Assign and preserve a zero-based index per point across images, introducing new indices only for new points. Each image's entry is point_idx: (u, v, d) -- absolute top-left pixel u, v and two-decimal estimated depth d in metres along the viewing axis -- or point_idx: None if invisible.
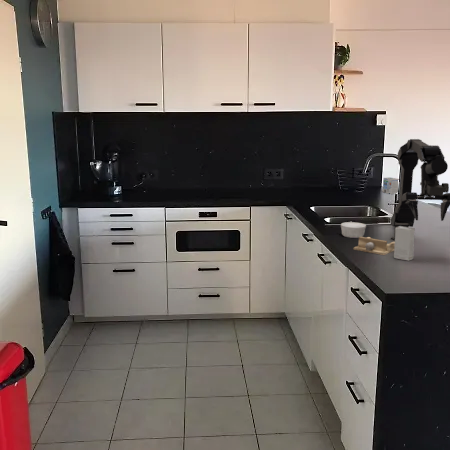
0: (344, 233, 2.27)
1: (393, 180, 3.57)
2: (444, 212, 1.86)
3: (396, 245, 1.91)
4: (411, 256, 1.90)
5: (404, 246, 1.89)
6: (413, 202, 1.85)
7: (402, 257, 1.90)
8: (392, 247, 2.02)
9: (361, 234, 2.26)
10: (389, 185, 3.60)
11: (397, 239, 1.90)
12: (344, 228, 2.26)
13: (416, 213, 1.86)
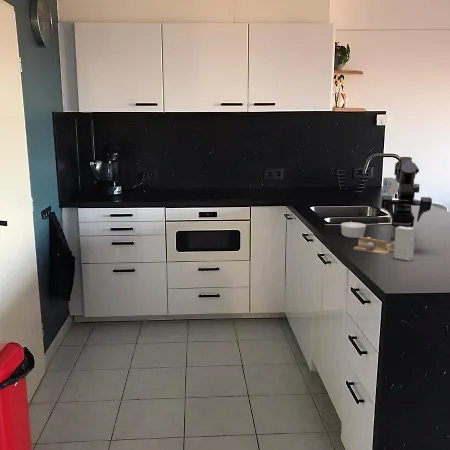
0: (344, 233, 2.27)
1: (393, 180, 3.57)
2: (419, 213, 1.96)
3: (396, 245, 1.91)
4: (411, 256, 1.90)
5: (404, 246, 1.89)
6: (388, 202, 2.00)
7: (402, 257, 1.90)
8: (392, 247, 2.02)
9: (361, 234, 2.26)
10: (389, 185, 3.60)
11: (397, 239, 1.90)
12: (344, 228, 2.26)
13: (392, 213, 1.99)
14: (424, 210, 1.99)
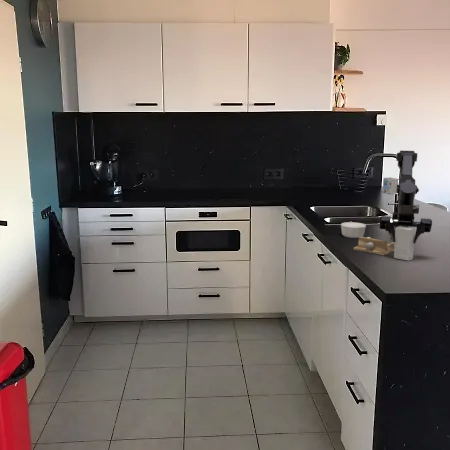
0: (344, 233, 2.27)
1: (393, 180, 3.57)
2: (416, 235, 1.89)
3: (396, 245, 1.91)
4: (411, 256, 1.90)
5: (404, 246, 1.89)
6: (389, 223, 1.92)
7: (402, 257, 1.90)
8: (392, 247, 2.02)
9: (361, 234, 2.26)
10: (389, 185, 3.60)
11: (397, 238, 1.90)
12: (344, 228, 2.26)
13: (393, 234, 1.91)
14: (421, 232, 1.92)
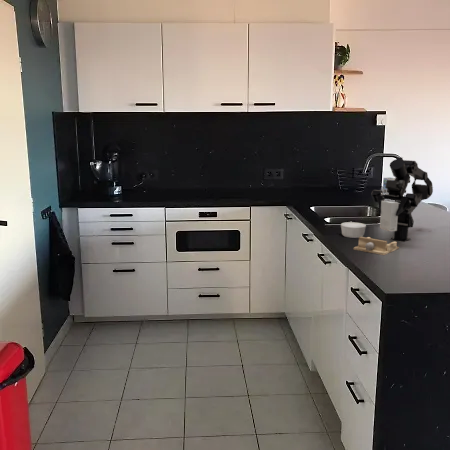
0: (344, 233, 2.27)
1: (393, 180, 3.57)
2: (399, 208, 2.06)
3: (381, 217, 2.10)
4: (393, 228, 2.08)
5: (386, 218, 2.08)
6: (378, 197, 2.12)
7: (385, 228, 2.09)
8: (392, 247, 2.02)
9: (361, 234, 2.26)
10: None
11: (382, 211, 2.10)
12: (344, 228, 2.26)
13: (379, 207, 2.11)
14: (408, 206, 2.08)
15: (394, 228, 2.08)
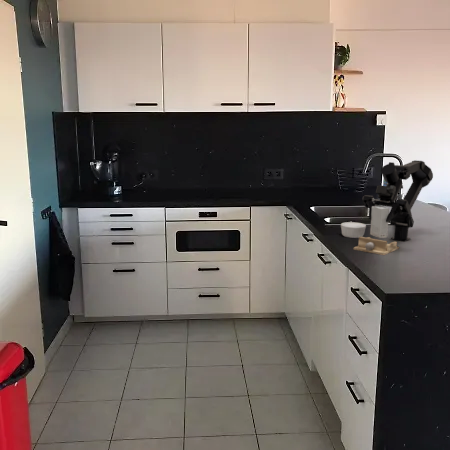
0: (344, 233, 2.27)
1: None
2: (389, 214, 2.01)
3: (372, 223, 2.06)
4: (384, 234, 2.03)
5: (376, 224, 2.03)
6: (369, 202, 2.08)
7: (375, 234, 2.04)
8: (392, 247, 2.02)
9: (361, 234, 2.26)
10: None
11: (372, 216, 2.05)
12: (344, 228, 2.26)
13: (370, 212, 2.06)
14: (399, 212, 2.03)
15: (384, 234, 2.03)
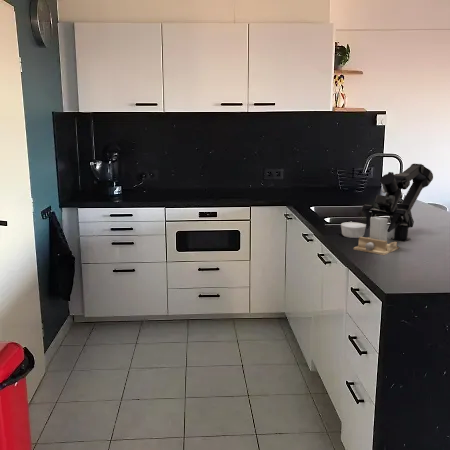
0: (344, 233, 2.27)
1: None
2: (391, 224, 2.01)
3: (370, 233, 2.07)
4: None
5: (375, 235, 2.04)
6: (366, 211, 2.09)
7: None
8: (392, 247, 2.02)
9: (361, 234, 2.26)
10: None
11: (371, 227, 2.06)
12: (344, 228, 2.26)
13: (367, 221, 2.08)
14: (400, 222, 2.03)
15: None
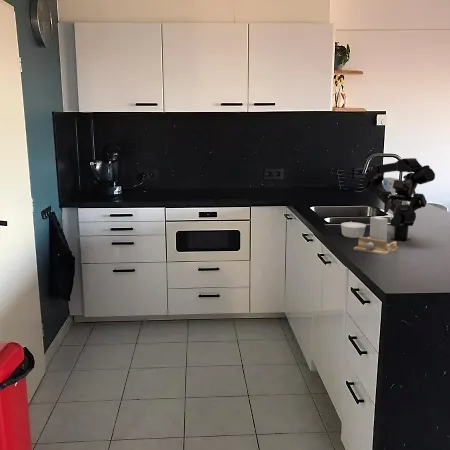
0: (344, 233, 2.27)
1: (393, 180, 3.57)
2: (408, 208, 2.05)
3: (370, 233, 2.07)
4: None
5: (375, 235, 2.04)
6: (384, 197, 2.13)
7: None
8: (392, 247, 2.02)
9: (361, 234, 2.26)
10: (389, 185, 3.60)
11: (371, 227, 2.06)
12: (344, 228, 2.26)
13: (385, 207, 2.12)
14: (418, 206, 2.06)
15: None
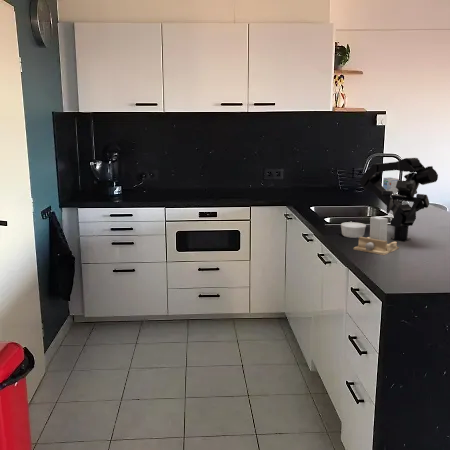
0: (344, 233, 2.27)
1: (393, 180, 3.57)
2: (411, 208, 2.04)
3: (370, 233, 2.07)
4: None
5: (375, 235, 2.04)
6: (386, 197, 2.12)
7: None
8: (392, 247, 2.02)
9: (361, 234, 2.26)
10: (389, 185, 3.60)
11: (371, 227, 2.06)
12: (344, 228, 2.26)
13: (387, 207, 2.11)
14: (421, 207, 2.06)
15: None
